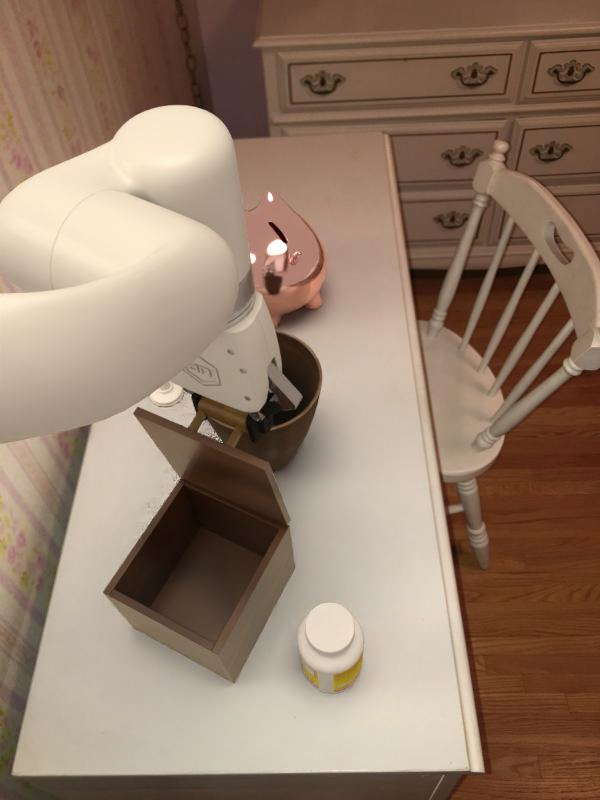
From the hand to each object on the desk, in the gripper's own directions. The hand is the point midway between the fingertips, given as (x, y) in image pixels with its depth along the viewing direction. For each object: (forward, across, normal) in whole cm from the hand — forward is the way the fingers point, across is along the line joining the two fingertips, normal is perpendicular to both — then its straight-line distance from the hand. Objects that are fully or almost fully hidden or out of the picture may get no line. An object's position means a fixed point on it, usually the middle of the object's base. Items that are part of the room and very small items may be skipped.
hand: (235, 419), depth 62 cm
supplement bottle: (+23, +15, -11) cm, 30 cm away
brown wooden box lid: (+3, 0, -5) cm, 6 cm away
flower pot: (+24, -4, +10) cm, 26 cm away
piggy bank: (+24, -17, +36) cm, 46 cm away
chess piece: (+24, -22, +12) cm, 34 cm away
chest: (+23, 0, -10) cm, 25 cm away
